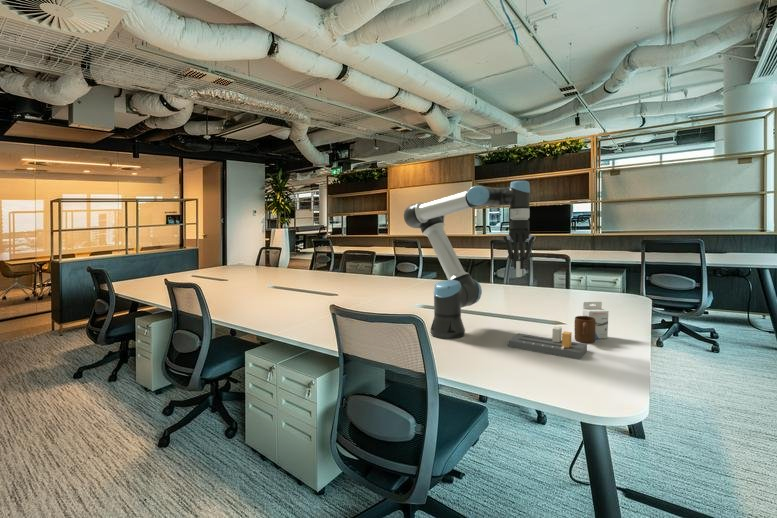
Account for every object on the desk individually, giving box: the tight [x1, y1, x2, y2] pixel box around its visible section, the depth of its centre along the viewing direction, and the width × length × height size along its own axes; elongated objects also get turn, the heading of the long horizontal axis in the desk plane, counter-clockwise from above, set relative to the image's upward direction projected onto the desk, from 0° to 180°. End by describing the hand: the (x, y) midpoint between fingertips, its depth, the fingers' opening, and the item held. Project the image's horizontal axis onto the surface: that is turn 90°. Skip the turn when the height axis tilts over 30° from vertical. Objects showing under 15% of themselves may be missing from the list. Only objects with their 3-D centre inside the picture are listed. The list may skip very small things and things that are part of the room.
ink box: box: [582, 301, 609, 340], centre depth 161 cm, size 8×5×15 cm, turn 94°
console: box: [507, 332, 588, 360], centre depth 148 cm, size 26×12×3 cm, turn 52°
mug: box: [574, 315, 596, 344], centre depth 155 cm, size 12×8×9 cm, turn 154°
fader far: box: [551, 326, 563, 342], centre depth 148 cm, size 2×4×5 cm, turn 142°
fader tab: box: [561, 331, 573, 348], centre depth 142 cm, size 2×4×5 cm, turn 142°
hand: (519, 276), depth 159 cm, fingers closed
